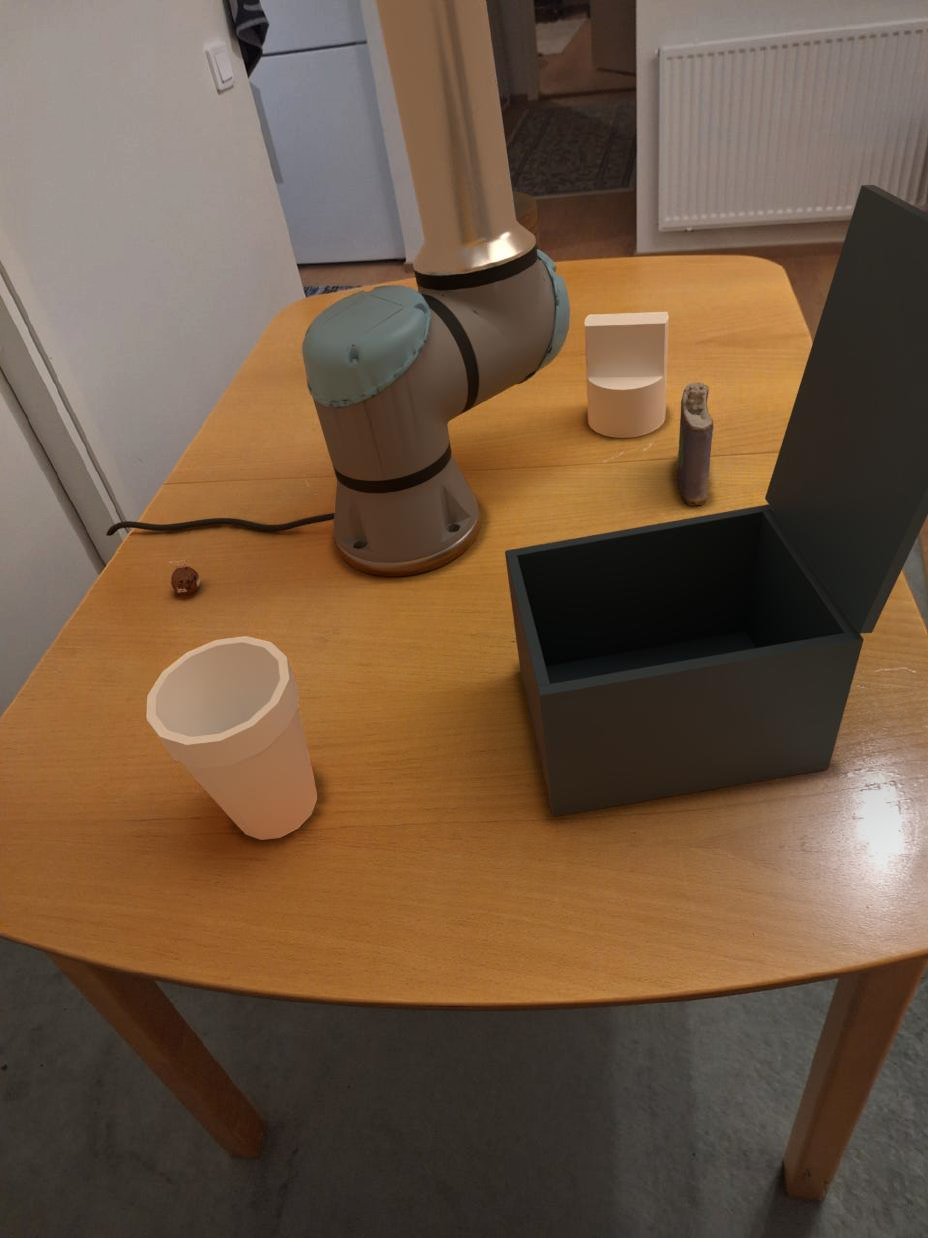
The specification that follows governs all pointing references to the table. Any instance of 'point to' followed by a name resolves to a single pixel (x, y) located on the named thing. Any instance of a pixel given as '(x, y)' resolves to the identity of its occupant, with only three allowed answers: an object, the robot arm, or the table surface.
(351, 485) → the robot arm
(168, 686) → the foam cup
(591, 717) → the box
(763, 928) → the table surface
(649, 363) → the cylinder with rectangular tab
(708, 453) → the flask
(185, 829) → the table surface
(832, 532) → the lunchbox lid
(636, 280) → the table surface
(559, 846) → the table surface
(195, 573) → the chocolate
